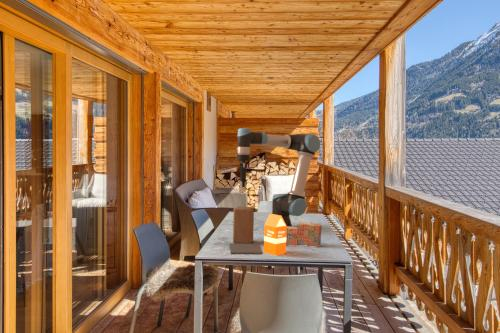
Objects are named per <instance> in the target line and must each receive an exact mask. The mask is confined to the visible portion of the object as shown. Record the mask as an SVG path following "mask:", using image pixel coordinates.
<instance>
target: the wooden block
mask: <svg viewBox="0 0 500 333" xmlns="http://www.w3.org/2000/svg"><path fill="white" fill-rule="evenodd" d="M254 214H255V208H254V207H253V206H236V207H235V208H234V209H233V221H232V222H233V224H232V225H233V230H232V231H233V232H232V234H233V235H232V242H233V243H241V244H252V243H253V241H254V227H255V225H254V222H255V220H254V219H255V218H254V216H255V215H254Z"/></svg>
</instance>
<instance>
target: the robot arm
mask: <svg viewBox="0 0 500 333" xmlns="http://www.w3.org/2000/svg"><path fill="white" fill-rule="evenodd" d="M236 136H237V147H236V148H235V149H236V152H237V156H236V160H237V161H239V162H240V163H239V171H240V173H239V176H240V177H239V179H240V180H239V191H240V193H243V194H244V193H246V191H247V190H246V188H247V187H246V184H247V182H246V181H247V167H248V164H247V162H249V161H250V159H251V155H250V154H251V145H254V146H263V147H264V146H265V147H267V146H268V147H277V148H283V149H285V150H291V151H296V153H297V155H298V156H297V159H296V160H297V161H296V166H295V170H294V173H293V178H292V183H291V187H290V190H289V191H288V192H287V193H275V194H273V196H272V200H271V201H272V203H271V204H272V206H271V207H272V208H271V209H272V210H271V212H272V213H271V214H275V215H280V216H282V218H283V220H284V222H285V224H286V226H289V227H293V225H292V221H291V218H290V216H293V217H299V216H302V215H304V213H305V212H306V211H307V208H308V207H307V206H308V204H307V201H306V200H305V199H306V195H305V194H304V193H305V189H306V184H307V180H308V179H307V178H308V176H309V171H310V166H311V161H312V158H314V157H315V154H316V152H318V151H319V150H320V149H321V140H320V139H319V136H318V135H316V134H314V133H297V134H296V133H295V134H284V135H280V134H268V133H266V132H263V131H251V128H249V127H239V128H238V129H237V135H236Z"/></svg>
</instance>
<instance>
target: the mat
mask: <svg viewBox="0 0 500 333" xmlns="http://www.w3.org/2000/svg"><path fill="white" fill-rule="evenodd" d="M229 250H230V251H229V253H230V255H262V254H263V252H262V250H261V248H260V244H259V243H250V244H241V243H229Z"/></svg>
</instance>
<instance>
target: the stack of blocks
mask: <svg viewBox="0 0 500 333" xmlns="http://www.w3.org/2000/svg"><path fill="white" fill-rule="evenodd" d="M321 239H322V224H321V223H315V222H314V223H313V222H303V221H302V222H301V221H300V222H298V224H297V227H296V226H292V227H289V226H287V228H286V245H290V244H291V245H292V246H299V245H307V246H306V247H309V246H319V245H320V244H321V242H322V240H321ZM320 246H321V245H320ZM320 246H319V247H320Z"/></svg>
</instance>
